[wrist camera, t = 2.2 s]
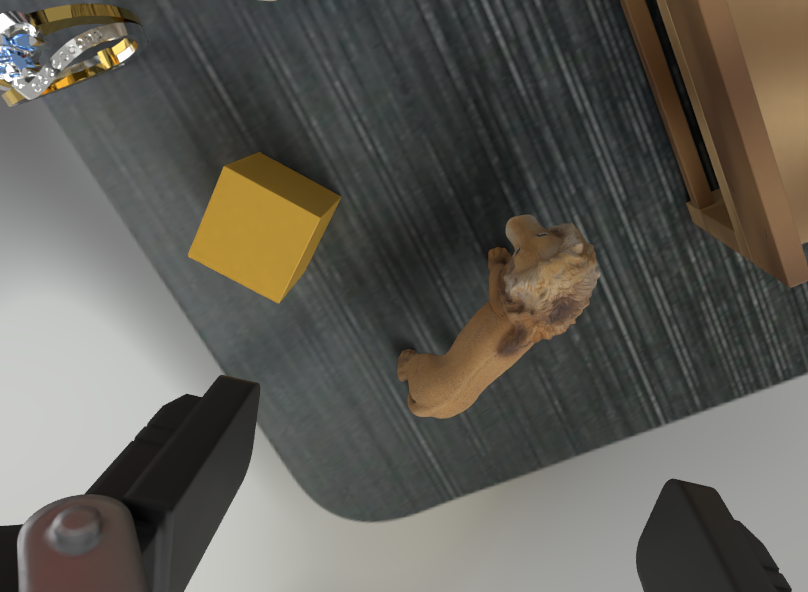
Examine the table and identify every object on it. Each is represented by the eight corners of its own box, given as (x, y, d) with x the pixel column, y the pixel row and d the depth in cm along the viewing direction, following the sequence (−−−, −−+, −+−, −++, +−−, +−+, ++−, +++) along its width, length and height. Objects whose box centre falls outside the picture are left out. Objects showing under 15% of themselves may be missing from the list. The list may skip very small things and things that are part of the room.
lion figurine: (512, 171, 31) (529, 209, 23) (598, 222, 31) (646, 277, 23) (379, 382, 36) (352, 475, 28) (454, 423, 37) (450, 527, 28)
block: (225, 230, 34) (187, 256, 29) (259, 151, 32) (223, 165, 27) (304, 272, 34) (278, 304, 29) (341, 196, 32) (320, 218, 28)
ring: (79, 114, 32) (-38, 127, 25) (47, 54, 31) (-85, 49, 24) (189, 64, 31) (99, 62, 23) (158, -1, 30) (55, -24, 22)
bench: (857, 153, 29) (1042, 193, 20) (692, 223, 31) (790, 288, 22) (777, -149, 25) (960, -277, 16) (595, -48, 27) (662, -110, 18)
